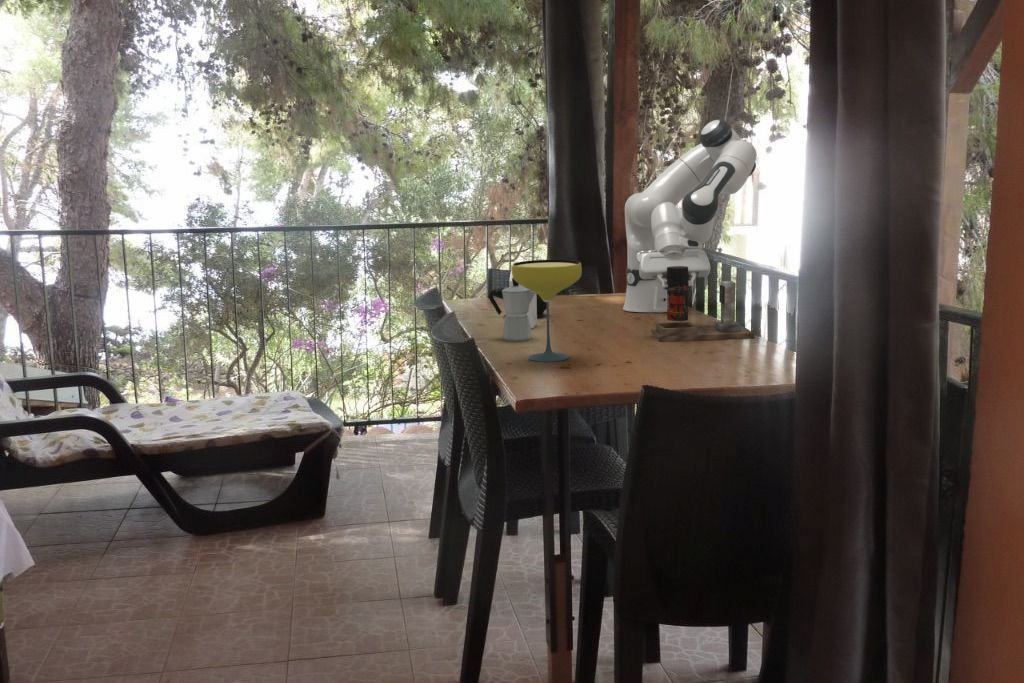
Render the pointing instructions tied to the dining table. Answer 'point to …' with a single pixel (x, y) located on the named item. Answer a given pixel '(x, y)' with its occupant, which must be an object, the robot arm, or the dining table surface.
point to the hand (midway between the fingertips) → (678, 287)
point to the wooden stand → (721, 330)
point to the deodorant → (677, 293)
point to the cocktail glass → (547, 289)
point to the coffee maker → (514, 311)
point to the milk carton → (532, 306)
